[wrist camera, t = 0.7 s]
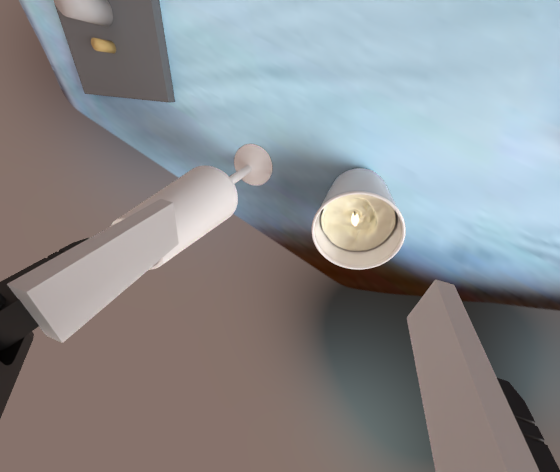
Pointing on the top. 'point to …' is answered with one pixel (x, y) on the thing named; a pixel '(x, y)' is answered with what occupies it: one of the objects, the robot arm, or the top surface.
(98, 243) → the robot arm
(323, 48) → the top surface
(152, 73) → the base plate
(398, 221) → the candle holder
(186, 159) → the top surface
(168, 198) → the champagne flute
